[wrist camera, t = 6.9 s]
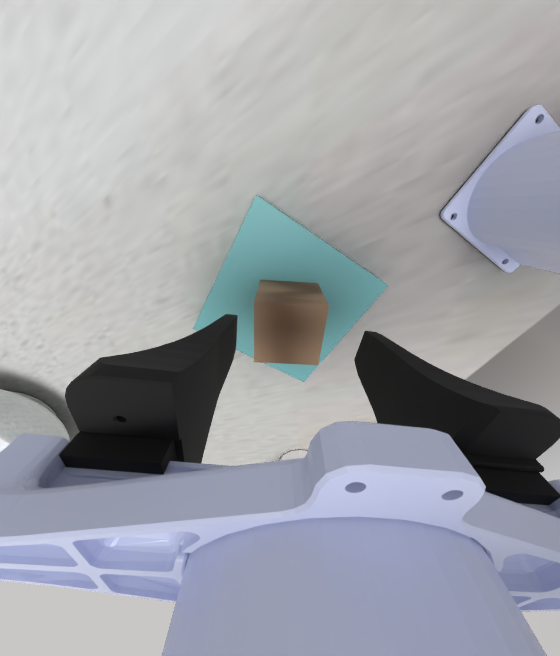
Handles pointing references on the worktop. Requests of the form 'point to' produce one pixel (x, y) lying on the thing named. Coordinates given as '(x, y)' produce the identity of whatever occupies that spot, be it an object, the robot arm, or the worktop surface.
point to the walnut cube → (289, 322)
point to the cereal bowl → (26, 418)
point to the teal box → (287, 279)
